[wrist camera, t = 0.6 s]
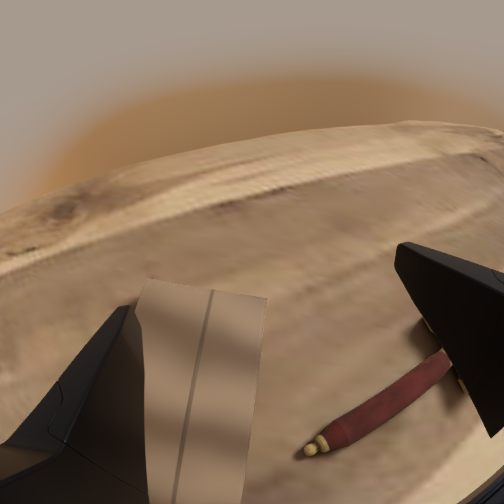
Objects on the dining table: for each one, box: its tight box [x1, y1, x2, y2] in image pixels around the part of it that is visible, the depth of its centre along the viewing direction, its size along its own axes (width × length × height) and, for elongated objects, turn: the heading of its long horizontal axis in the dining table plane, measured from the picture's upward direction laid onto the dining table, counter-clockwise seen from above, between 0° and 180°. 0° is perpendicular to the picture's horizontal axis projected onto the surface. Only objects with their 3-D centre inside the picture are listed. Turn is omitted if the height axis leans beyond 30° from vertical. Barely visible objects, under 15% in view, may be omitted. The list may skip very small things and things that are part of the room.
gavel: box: [304, 317, 468, 456], centre depth 20 cm, size 21×5×10 cm
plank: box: [135, 278, 267, 504], centre depth 17 cm, size 24×10×2 cm, turn 173°
